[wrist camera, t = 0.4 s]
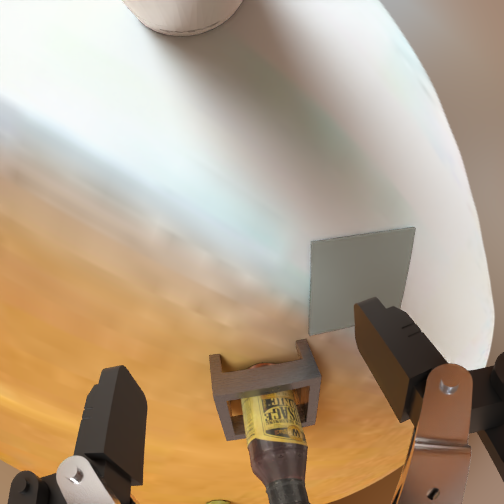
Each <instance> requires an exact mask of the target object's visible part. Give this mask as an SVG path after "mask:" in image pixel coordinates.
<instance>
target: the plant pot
mask: <svg viewBox="0 0 504 504" xmlns="http://www.w3.org/2000/svg"><path fill="white" fill-rule="evenodd" d="M206 504H230V502H229V501H226V502H225V501H223V500H217V501H211V502H210V503H206Z"/></svg>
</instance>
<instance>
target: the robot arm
mask: <svg viewBox="0 0 504 504" xmlns="http://www.w3.org/2000/svg"><path fill="white" fill-rule="evenodd" d="M122 1H123V3H124V4H125V5H126V6H127V7H128V8H129V10H130V11H131V12H132V13H133V14H134V15H135V16H136V17H137V19H139V20H140V21H141V22H142V23H143V24H144V25H145V26H147V27H149V28H150V29H152V30H154V31H156V32H159V33H162V34H165V35H173V36H191V35H195V34H200V33H204V32H206V31H209V30H211V29H214V28H216V27H217V26H219V25H221V24H222V23H224V22H225V21H226V20H227V19H229V18H230V17H231V16H232V15H233V14H234V13H235V11H236V10H237V9H238V7H239V6H240V4H241V2H242V1H243V0H122ZM354 321H355V338H356V343H357V346H358V349H359V352H360V353H361V355H362V357H363V359H364V360H365V362H366V364H367V366H368V367H369V369H370V371H371V372H372V374H373V376H374V378H375V379H376V381H377V383H378V385H379V386H380V388H381V390H382V392H383V393H384V395H385V397H386V399H387V400H388V402H389V404H390V406H391V407H392V409H393V411H394V413H395V415H396V416H397V418H398V420H399V422H400V423H402V422H404V421H406V420H408V419H411V421H412V423H413V424H414V429H413V433H412V437H411V441H410V445H409V449H408V453H407V456H406V460H405V463H404V467H403V470H402V473H401V476H400V479H399V482H398V485H397V488H396V491H395V493H394V496H393V499H392V502H391V504H462V501H463V497H464V492H465V487H466V482H467V477H468V472H469V466H470V459H471V447H470V446H469V445H468V435H469V434H470V433H474V432H477V433H478V435H479V437H480V439H481V440H482V442H483V444H484V445H485V448H486V449H487V451H488V453H489V455H490V457H491V458H492V460H493V462H494V464H495V466H496V468H497V470H498V472H499V474H500V476H501V477H502V479H503V481H504V352H503V353H502V354H500V355H499V356H498V358H497V360H496V362H495V365H494V366H490V367H486V368H481V369H477V370H471V371H467V370H466V369H465V368H464V367H462V366H460V365H457V364H449V363H448V362H447V361H446V360H445V359H444V358H443V356H442V355H441V354H440V353H439V351H438V350H437V349H436V348H435V347H434V345H433V344H432V343H431V342H430V340H429V339H428V338H427V337H426V336H425V334H424V333H423V332H421V330H420V328H419V327H418V326H417V325H416V324H415V323H414V321H413V320H412V319H411V318H410V317H409V315H408V314H407V313H406V312H404V311H402V310H400V309H398V308H397V307H395V306H392V307H389V308H385V307H384V305H383V304H382V303H381V302H380V300H379V299H378V298H377V297H372V298H369V299H366V300H364V301H361V302H358V303H355V304H354ZM84 409H85V410H84V411H83V415H82V420H81V424H80V428H79V432H78V437H77V441H76V446H75V451H74V455H73V456H71V457H68V458H67V459H65V460H64V461H63V462H62V463H61V464H60V466H59V467H58V470H57V473H55V474H52V475H48V476H45V477H42V478H39V477H38V476H36V475H35V474H34V473H32V472H31V471H22V472H20V473H19V474H17V475H16V476H15V478H14V479H13V481H12V483H11V488H10V493H9V499H8V504H139V502H138V501H137V500H136V499H135V497H134V496H133V495H132V494H131V493H130V492H131V486H138V485H143V464H144V446H145V432H146V419H147V401H146V398H145V395H144V393H143V391H142V390H141V388H140V387H139V386H138V384H137V383H136V381H135V380H134V378H133V377H132V376H131V374H130V373H129V371H128V370H127V368H126V367H125V366H123V365H121V366H116V367H111V368H105V369H103V370H102V372H101V376H100V380H99V384H97V385H94V387H93V388H92V390H91V391H90V393H89V394H88V396H87V399H86V403H85V407H84Z"/></svg>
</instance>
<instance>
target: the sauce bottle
mask: <svg viewBox="0 0 504 504" xmlns="http://www.w3.org/2000/svg"><path fill="white" fill-rule="evenodd" d="M269 365H275V364H273V363H258V364H255V365H253V366H252V367H250V368H248V369H252V368H258V367H264V366H269ZM241 405H242V412H243V419H244V427H245V434H246V440H247V447H248V450H249V455H250V461H251V467H252V470H253V473H254V474H255V475H256V476H257V477H258V478H259V479H260V480H261V481H262V482H263V484H264V485H265V487H266V493H267V494H268V498H269V503H270V504H310V503H309V501H308V496H307V492H306V488H305V472H306V461H307V448H308V446H307V442H306V439H305V435H304V432H303V428H302V424H301V420H300V417H299V413H298V410H297V406H296V403H295V399H294V395H293V392H292V390H287V391H282V392H277V393H272V394H266V395H261V396H255V397H249V398H243V399H241Z"/></svg>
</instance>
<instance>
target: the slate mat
mask: <svg viewBox="0 0 504 504" xmlns="http://www.w3.org/2000/svg"><path fill="white" fill-rule="evenodd" d="M415 229H416V228H414V227H410V228H403V229H396V230H389V231H382V232H375V233H368V234H361V235H354V236H347V237H340V238H333V239H326V240H319V241H312V242H311V280H310V312H309V336H311V335H316V334H321V333H325V332H330V331H335V330H339V329H344V328H348V327H352V326H355V321H354V304H355V303H358V302H361V301H364V300H366V299H369V298H372V297H377V298H378V299H379V300H380V302H381V303H382V304H383V305H384V307H385V308H389V307H392V306H395V307H397V308H398V309H400V306H401V302H402V298H403V293H404V289H405V284H406V279H407V274H408V269H409V264H410V259H411V253H412V247H413V241H414V235H415Z"/></svg>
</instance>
